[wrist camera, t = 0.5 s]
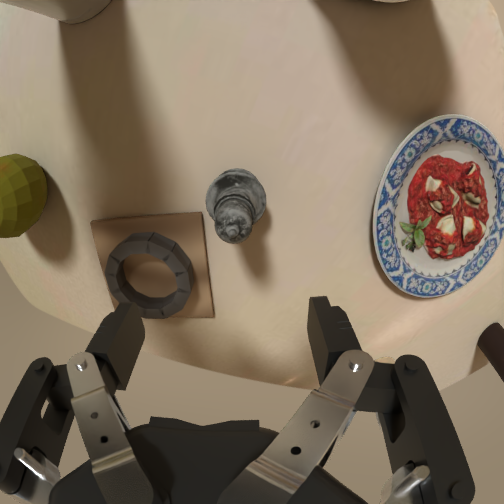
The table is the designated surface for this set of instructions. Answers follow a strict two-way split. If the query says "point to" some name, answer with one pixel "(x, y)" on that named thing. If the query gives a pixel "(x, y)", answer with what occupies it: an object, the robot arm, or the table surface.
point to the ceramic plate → (440, 206)
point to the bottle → (494, 347)
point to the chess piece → (235, 204)
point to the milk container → (391, 0)
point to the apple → (20, 194)
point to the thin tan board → (156, 263)
